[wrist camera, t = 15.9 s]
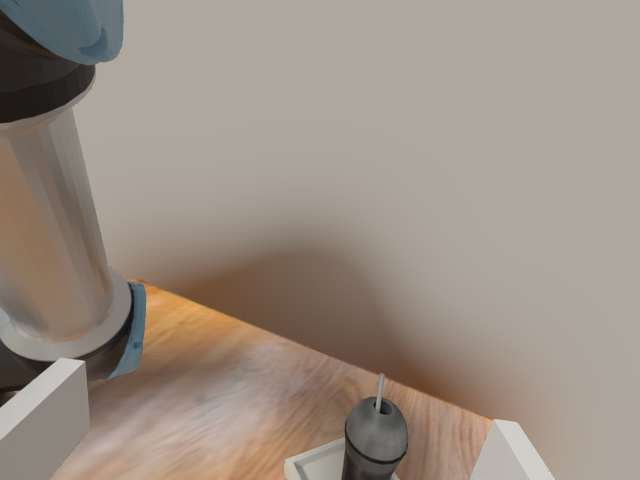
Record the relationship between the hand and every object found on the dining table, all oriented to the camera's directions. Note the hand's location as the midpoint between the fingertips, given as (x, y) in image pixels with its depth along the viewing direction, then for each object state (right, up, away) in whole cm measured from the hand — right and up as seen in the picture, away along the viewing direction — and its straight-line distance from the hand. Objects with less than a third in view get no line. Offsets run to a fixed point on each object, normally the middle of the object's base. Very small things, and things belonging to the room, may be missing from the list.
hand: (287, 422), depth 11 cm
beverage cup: (+6, -27, +31) cm, 41 cm away
